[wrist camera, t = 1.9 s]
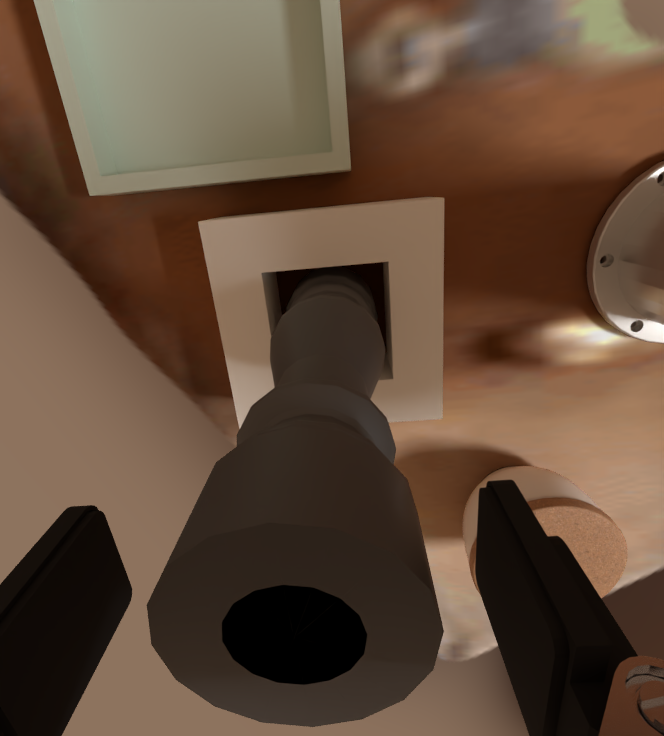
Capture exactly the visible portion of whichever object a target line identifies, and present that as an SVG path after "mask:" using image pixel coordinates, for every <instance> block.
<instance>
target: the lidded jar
mask: <svg viewBox="0 0 664 736" xmlns="http://www.w3.org/2000/svg"><path fill="white" fill-rule="evenodd" d="M496 480H513V481H514V482H515V483H516V485H517V486H518V488H519V490H520V491H521V493H522V495H523V496H524V498H525V500H526V501H527V503H528V505H529V506H530V508H531V510H532V511H533V513H534V515H535V516H536V518H537V520H538V521H539V523H540V525H541V526H542V528H543V530H544V531H545V533H546V535H547V536H559V537H560V538H562V539H563V541H564V542H565V543H566V544H567V546H568V547H569V549H570V551H571V552H572V554H573V555H574V557H575V558H576V560H577V561H578V563H579V565H580V566H581V568H582V569H583V571H584V572H585V574H586V576H587V577H588V579H589V580H590V582H591V583H592V585H593V586H594V588H595V590H596V591H597V593H598V594H599V596H600V597H601V598H602V597H604V596H605V595H606V594H607V593H608V592H609V591H610V590H611V589H612V588H613V587H614V586H615V585H616V583H617V582H618V581H619V579H620V578H621V576H622V574H623V571H624V569H625V566H626V562H627V545H626V541H625V538H624V536H623V534H622V532H621V530H620V529H619V528H618V527H617V525H616V524H615V523H614V522H613V520H612V519H611V518H610V517H609V516H608V515H607V514H605V513H604V512H603V511H602V510H601V508H600V507H599V506H598V505H597V504H596V503H595V501H594V500H593V499H592V498H591V497H590V496H589V495H588V494H586V493H585V492H584V491H583V490H582V489H581V488H580V487H578V486H577V485H576V484H574V483H573V482H572V481H570V480H569V479H567V478H565V477H564V476H562V475H560V474H558V473H556V472H553V471H550V470H548V469H544V468H539V467H534V466H512V467H505V468H502V469H499V470H496V471H494V472H492V473H491V474H489V475H488V476H487V477H485V478H484V479H483V481H482V482H481V483H479V484H478V486H477V487H476V488H475V489H474V490H473V492H472V493H471V495H470V497H469V499H468V501H467V503H466V506H465V510H464V515H463V539H464V545H465V550H466V554H467V558H468V561H469V566H470V571H471V576H472V579H473V582H474V584H475V586H476V589H477V590H478V592H479V593H480V591H479V588H478V585H477V581H476V575H475V562H476V541H477V520H478V500H479V489H480V488H484V487H486V484H487V482H488V481H496ZM480 595H481V594H480Z"/></svg>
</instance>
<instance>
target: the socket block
mask: <svg viewBox="0 0 664 736" xmlns="http://www.w3.org/2000/svg"><path fill="white" fill-rule="evenodd" d="M198 225H199V230H200V235H201V240H202V245H203V250H204V255H205V260H206V265H207V270H208V275H209V280H210V285H211V290H212V295H213V300H214V305H215V310H216V315H217V320H218V325H219V330H220V335H221V340H222V344H223V349H224V354H225V359H226V364H227V369H228V374H229V379H230V384H231V389H232V394H233V399H234V404H235V409H236V414H237V419H238V424H239V429H240V428H241V426H242V424H243V422H244V420H245V418H246V416H247V414H248V412H249V410H250V408H251V406H252V405H253V404H254V403H256V402H257V401H258V400H259V399H261V398H262V397H263V396H264V395H266V394H267V393H268V392H270V391H271V390H272V389H273V388H275V387H274V381H273V375H272V369H271V364H270V342H271V337H272V335H273V333H274V331H275V329H276V327H277V325H278V323H279V321H280V319H281V317H282V311H281V304H280V297H279V290H278V283H277V276H276V271H287V270H299V269H310V268H321V267H333V266H344V265H355V264H366V263H378V262H383V282H384V304H385V326H386V348H387V353H385V357H384V364H383V371H382V373H381V376H380V378H379V380H378V382H377V385H376V387H375V389H374V392H373V394H372V397H371V401H372V402H373V403H374V404H375V405H376V406H377V407H378V408H379V410H380V411H381V412H382V413H383V414H384V415H385V416H386V418H387V420H388V422H403V421H419V420H434V419H443V301H444V198H441V197H420V198H410V199H400V200H389V201H379V202H369V203H359V204H348V205H338V206H328V207H318V208H307V209H297V210H287V211H277V212H266V213H256V214H246V215H236V216H225V217H218V218H213V219H208V220H204V221H199V222H198Z"/></svg>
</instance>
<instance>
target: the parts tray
mask: <svg viewBox="0 0 664 736" xmlns="http://www.w3.org/2000/svg"><path fill="white" fill-rule="evenodd" d="M34 4H35V7H36V11H37V14H38V18H39V21H40V24H41V28H42V31H43V35H44V38H45V42H46V45H47V49H48V52H49V56H50V59H51V63H52V66H53V70H54V73H55V77H56V80H57V84H58V87H59V91H60V94H61V98H62V101H63V105H64V108H65V112H66V115H67V119H68V122H69V126H70V129H71V133H72V136H73V140H74V143H75V147H76V150H77V153H78V157H79V160H80V164H81V167H82V171H83V174H84V178H85V181H86V185H87V188H88V192H89V195H90V196H115V195H125V194H134V193H144V192H154V191H164V190H173V189H183V188H193V187H203V186H212V185H222V184H232V183H242V182H251V181H261V180H271V179H281V178H291V177H300V176H310V175H320V174H330V173H339V172H349V171H351V160H350V145H349V130H348V115H347V101H346V86H345V71H344V56H343V42H342V27H341V12H340V0H34Z"/></svg>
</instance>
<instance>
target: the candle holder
mask: <svg viewBox="0 0 664 736" xmlns="http://www.w3.org/2000/svg"><path fill="white" fill-rule="evenodd" d="M377 318H378V315H377V311H376V307H375V303H374V299H373V296H372V292H371V289H370V287H369V286H368V285H367V284H366V282H365V281H364V280H363V279H362V277H361V276H360V275H358V274H357V273H355V272H353V271H351V270H349V269H347V268H345V267H336V266H333V267H322V268H319V269H316V270H313V271H311V272H310V273H309V274H307V275H306V276H305V277H304V278H303V279H302V280H301V281H299V283H298V285H297V287H296V289H295V291H294V292H293V295H292V297H291V299H290V301H289V303H288V305H287V307H286V313H285V314H284V315H283V316H282V317H281V319H280V321H279V323H278V325H277V327H276V329H275V331H274V333H273V335H272V337H271V342H270V364H271V369H272V375H273V381H274V387H275V388H273V389H272V390H271V391H270V392H268V393H267V394H266V395H264V396H263V397H262V398H261V399H259V400H258V401H257V402H256V403H254V404H253V405H252V406H251V408H250V410H249V412H248V414H247V416H246V418H245V420H244V422H243V424H242V426H241V428H240V430H239V432H238V434H237V447H236V448H234V449H233V450H232V451H230V452H229V453H228V454H226V455H225V456H224V457H223V458H221V459H220V460H219V461H217V462H216V464H215V466H214V468H213V470H212V472H211V474H210V476H209V478H208V480H207V482H206V484H205V486H204V488H203V490H202V492H201V494H200V496H199V498H198V500H197V502H196V504H195V506H194V509H193V510H192V513H191V515H190V517H189V519H188V521H187V523H186V525H185V527H184V529H183V531H182V533H181V536H180V537H179V540H178V542H177V544H176V546H175V548H174V550H173V552H172V554H171V556H170V558H169V560H168V562H167V565H166V566H165V568H164V571H163V573H162V575H161V577H160V579H159V581H158V583H157V585H156V587H155V589H154V591H153V593H152V595H151V598H150V600H149V602H148V604H147V610H148V619H149V627H150V635H151V644H152V646H153V647H154V649H155V650H156V652H157V653H158V655H159V656H160V657H161V659H162V660H163V662H164V663H165V665H166V666H167V667H168V669H169V670H170V672H171V673H172V675H173V676H174V678H175V679H176V680H177V681H179V682H180V683H182V684H183V685H184V686H186V687H187V688H189V689H190V690H192V691H193V692H195V693H196V694H198V695H199V696H200V697H202V698H203V699H205V700H206V701H208V702H209V703H211V704H212V705H214V706H215V707H218V708H221V709H224V710H227V711H230V712H233V713H236V714H239V715H242V716H245V717H248V718H251V719H254V720H257V721H259V722H264V723H275V724H276V723H277V724H286V725H298V726H310V727H315V726H321V725H328V724H334V723H341V722H347V721H354V720H360V719H363V718H366V717H368V716H370V715H372V714H374V713H376V712H379V711H381V710H383V709H385V708H387V707H389V706H392V705H394V704H396V703H398V702H400V701H402V700H404V699H405V698H406V697H407V696H408V695H409V694H410V693H411V692H412V691H413V690H414V689H415V688H416V687H417V686H418V685H419V684H420V683H421V682H422V681H423V680H424V679H425V678H426V676H427V675H428V674H429V673H430V672H431V671H432V670H433V668H434V665H435V661H436V658H437V654H438V650H439V647H440V643H441V639H442V636H443V632H444V630H443V626H442V621H441V617H440V612H439V608H438V603H437V599H436V594H435V590H434V585H433V581H432V576H431V572H430V567H429V563H428V558H427V554H426V549H425V545H424V540H423V536H422V531H421V527H420V522H419V517H418V513H417V510H416V507H415V503H414V500H413V497H412V493H411V490H410V487H409V483H408V480H407V479H406V478H405V477H404V476H403V474H402V473H401V472H400V471H399V470H398V469H397V468H396V467H395V466H394V459H395V453H396V447H395V443H394V440H393V437H392V433H391V430H390V427H389V423H388V420H387V418H386V416H385V415H384V414H383V413H382V412H381V411H380V410H379V408H378V407H377V406H376V405H375V404H374V403H373V402H372V401H371V397H372V394H373V392H374V389H375V387H376V385H377V382H378V380H379V378H380V376H381V373H382V371H383V364H384V357H385V350H386V349H385V345H384V341H383V338H382V334H381V331H380V327H379V325H378V323H377Z"/></svg>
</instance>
